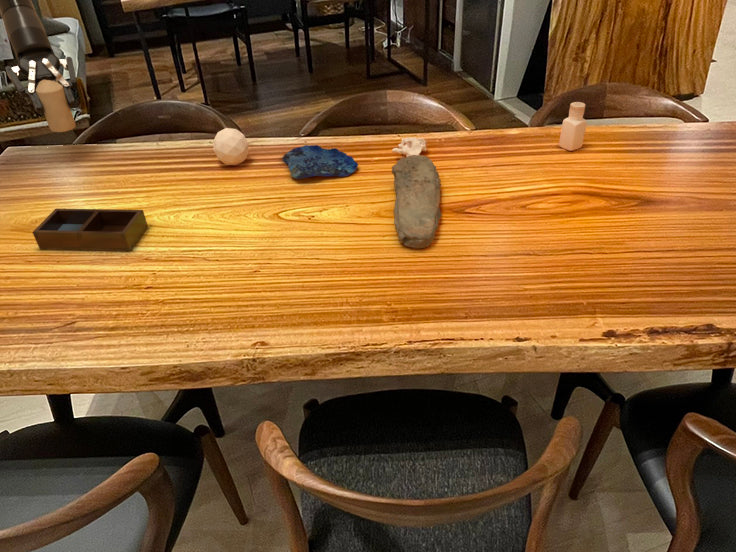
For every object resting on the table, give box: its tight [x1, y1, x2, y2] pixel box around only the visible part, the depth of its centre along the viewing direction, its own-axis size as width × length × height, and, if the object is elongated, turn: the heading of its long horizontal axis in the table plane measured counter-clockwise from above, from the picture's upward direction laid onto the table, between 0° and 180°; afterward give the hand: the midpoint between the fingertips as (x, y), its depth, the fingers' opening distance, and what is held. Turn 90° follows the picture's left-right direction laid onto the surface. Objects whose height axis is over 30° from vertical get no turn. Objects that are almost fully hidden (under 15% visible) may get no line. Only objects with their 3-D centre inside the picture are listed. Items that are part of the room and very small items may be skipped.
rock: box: [282, 144, 359, 180], centre depth 138 cm, size 15×17×2 cm
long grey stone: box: [391, 154, 442, 249], centre depth 122 cm, size 35×5×10 cm
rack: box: [32, 208, 149, 252], centre depth 116 cm, size 17×9×4 cm, turn 85°
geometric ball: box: [212, 127, 249, 166], centre depth 138 cm, size 8×8×8 cm
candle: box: [36, 80, 77, 133], centre depth 136 cm, size 6×6×10 cm
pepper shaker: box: [558, 101, 588, 152], centre depth 138 cm, size 4×4×10 cm
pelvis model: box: [391, 136, 428, 158], centre depth 140 cm, size 8×4×7 cm
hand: (57, 108), depth 135 cm, fingers closed on candle, 5 cm apart
